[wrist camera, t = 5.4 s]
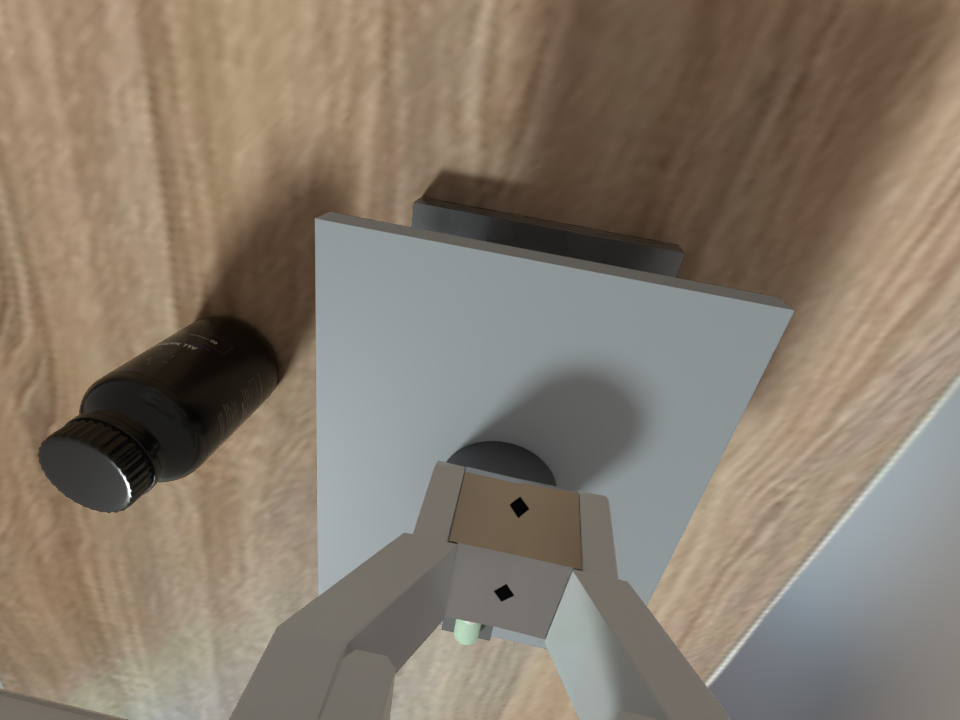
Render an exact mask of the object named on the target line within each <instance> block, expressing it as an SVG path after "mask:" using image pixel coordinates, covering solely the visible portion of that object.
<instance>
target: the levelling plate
mask: <svg viewBox="0 0 960 720" xmlns="http://www.w3.org/2000/svg"><path fill="white" fill-rule="evenodd" d="M315 290H316V401H317V511H318V596H320V595H321V594H322V593H324V592H325V591H326V590H328V589H329V588H330V587H332V586H333V585H334V584H336V583H337V582H338V581H340V580H341V579H342V578H344V577H345V576H346V575H348V574H349V573H350V572H352V571H353V570H354V569H356V568H357V567H358V566H360V565H361V564H362V563H364V562H365V561H366V560H368V559H369V558H370V557H372V556H373V555H374V554H376V553H377V552H378V551H380V550H381V549H382V548H384V547H385V546H386V545H388V544H389V543H390V542H392V541H393V540H394V539H396V538H397V537H399V536H400V535H401V534H403V533H409V534H413V532H414V529H415V526H416V522H417V519H418V516H419V513H420V510H421V507H422V504H423V501H424V498H425V494H426V491H427V488H428V485H429V482H430V479H431V476H432V473H433V470H434V467H435V465H436V463H437V462H438V461H442V462H447V463H451V464H455V465H459V466H463V467H470V468H474V469H479V470H483V471H487V472H491V473H496V474H500V475H504V476H508V477H512V478H517V479H522V480H527V481H532V482H537V483H542V484H547V485H552V486H557V487H562V488H567V489H572V490H575V491H583V492H588V493H593V494H598V495H603V496H606V497H607V499H608V500H609V505H610V513H611V521H612V530H613V538H614V546H615V554H616V562H617V570H618V578H619V580H623V581H627V582H629V584H630V585H631V586H632V588H633V589H634V590H635V592H636V593H637V594H638V596H639V597H640V598H641V600H642V601H643V602H644V604H645V605H646V606H647V605H648V603H649V601H650V599H651V597H652V595H653V593H654V591H655V589H656V587H657V585H658V583H659V581H660V579H661V577H662V575H663V573H664V571H665V569H666V567H667V565H668V563H669V561H670V559H671V557H672V555H673V553H674V551H675V549H676V547H677V545H678V543H679V541H680V539H681V537H682V535H683V533H684V531H685V529H686V527H687V525H688V523H689V521H690V519H691V517H692V515H693V513H694V511H695V509H696V507H697V505H698V503H699V501H700V499H701V497H702V495H703V493H704V491H705V489H706V487H707V485H708V483H709V481H710V479H711V477H712V475H713V473H714V471H715V469H716V467H717V465H718V463H719V461H720V459H721V457H722V455H723V453H724V451H725V449H726V447H727V445H728V443H729V441H730V439H731V437H732V435H733V433H734V431H735V429H736V427H737V425H738V423H739V421H740V419H741V417H742V415H743V413H744V411H745V409H746V407H747V405H748V403H749V401H750V399H751V397H752V395H753V393H754V391H755V389H756V387H757V385H758V383H759V381H760V379H761V377H762V375H763V373H764V371H765V369H766V367H767V365H768V363H769V361H770V359H771V357H772V355H773V353H774V351H775V349H776V347H777V345H778V343H779V341H780V339H781V337H782V335H783V333H784V331H785V329H786V327H787V325H788V323H789V321H790V319H791V317H792V315H793V313H794V311H795V310H794V309H793V308H791V307H790V306H789V305H788V304H787V303H786V302H784V301H783V300H782V299H781V298H780V297H775V296H769V295H764V294H759V293H754V292H748V291H743V290H738V289H732V288H727V287H722V286H717V285H711V284H706V283H701V282H696V281H690V280H685V279H680V278H675V277H669V276H664V275H659V274H654V273H648V272H643V271H638V270H633V269H627V268H622V267H617V266H612V265H606V264H601V263H596V262H591V261H585V260H580V259H575V258H570V257H564V256H559V255H554V254H549V253H543V252H538V251H533V250H528V249H522V248H517V247H512V246H507V245H501V244H496V243H491V242H486V241H480V240H475V239H470V238H465V237H459V236H454V235H449V234H444V233H438V232H433V231H428V230H423V229H417V228H412V227H407V226H402V225H396V224H391V223H386V222H381V221H375V220H370V219H365V218H360V217H354V216H349V215H344V214H339V213H333V212H328V213H326V214H324V215H321V216H319V217H317V218H315ZM465 470H466V469H465ZM440 625H442V630H446V631H450V632H454V636H455V638H456V640H457V641H458V642H459V643H461V644H463V645H471V644H473V643H475V642H476V641H477V639H478V638H480V639H485V640H489V641H490V637H491V636H492V637H496V638H500V639H505V640H509V641H513V642H518V643H522V644H526V645H531V646H535V647H539V648H544V649H547V647H546V644H545V639H541V638H537V637H533V636H529V635H526V634H522V633H518V632H514V631H510V630H506V629H502V628H498V627H494V626H489V625H484V624H479V623H474V622H469V621H464V620H459V619H454V618H449V617H444V619H443V621H442V622H441V623H440Z"/></svg>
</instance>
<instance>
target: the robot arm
mask: <svg viewBox="0 0 960 720" xmlns="http://www.w3.org/2000/svg"><path fill="white" fill-rule="evenodd" d="M465 469H466V470H465ZM444 617H449V618H454V619H459V620H464V621H469V622H474V623H479V624H484V625H489V626H494V627H498V628H502V629H506V630H510V631H514V632H518V633H522V634H526V635H529V636H533V637H537V638H541V639H545V644H546V647H547V649H548V651H549V653H550V655H551V658H552V660H553V662H554V664H555V667H556V669H557V671H558V673H559V676H560V678H561V680H562V682H563V685H564V687H565V689H566V691H567V694H568V696H569V698H570V700H571V702H572V705H573V707H574V709H575V711H576V714H577V716H578V718H579V720H731V718H730V717H729V716H728V714H727V713H726V712H725V710H724V709H723V708H722V706H721V705H720V704H719V702H718V701H717V700H716V699H715V697H714V696H713V695H712V693H711V692H710V690H709V689H708V688H707V686H706V685H705V684H704V682H703V681H702V680H701V678H700V677H699V676H698V674H697V673H696V672H695V670H694V669H693V668H692V666H691V665H690V664H689V662H688V661H687V660H686V658H685V657H684V656H683V654H682V653H681V652H680V650H679V649H678V648H677V646H676V645H675V644H674V642H673V641H672V640H671V638H670V637H669V636H668V634H667V633H666V632H665V630H664V629H663V628H662V626H661V625H660V624H659V622H658V621H657V620H656V618H655V617H654V616H653V614H652V613H651V612H650V610H649V609H648V608H647V606H646V605H645V604H644V602H643V601H642V600H641V598H640V597H639V596H638V594H637V593H636V592H635V590H634V589H633V588H632V586H631V585H630V584H629V582H627V581H623V580H619V578H618V570H617V562H616V554H615V546H614V538H613V530H612V521H611V513H610V505H609V500H608V499H607V497H606V496H603V495H598V494H593V493H588V492H583V491H575V490H572V489H567V488H562V487H557V486H552V485H547V484H542V483H537V482H532V481H527V480H522V479H517V478H512V477H508V476H504V475H500V474H496V473H491V472H487V471H483V470H479V469H474V468H470V467H463V466H459V465H455V464H451V463H447V462H442V461H438V462H437V463H436V465H435V467H434V470H433V473H432V476H431V479H430V482H429V485H428V488H427V491H426V494H425V498H424V501H423V504H422V507H421V510H420V513H419V516H418V519H417V522H416V526H415V529H414V532H413V534H409V533H403V534H401V535H400V536H399V537H397V538H396V539H394V540H393V541H392V542H390V543H389V544H388V545H386V546H385V547H384V548H382V549H381V550H380V551H378V552H377V553H376V554H374V555H373V556H372V557H370V558H369V559H368V560H366V561H365V562H364V563H362V564H361V565H360V566H358V567H357V568H356V569H354V570H353V571H352V572H350V573H349V574H348V575H346V576H345V577H344V578H342V579H341V580H340V581H338V582H337V583H336V584H334V585H333V586H332V587H330V588H329V589H328V590H326V591H325V592H324V593H322V594H321V595H320V596H318V597H317V598H316V599H314V600H313V601H312V602H310V603H309V604H308V605H306V606H305V607H304V608H302V609H301V610H300V611H298V612H297V613H296V614H294V615H293V616H292V617H290V618H289V619H288V620H286V621H285V622H284V623H282V624H281V625H279V626H278V627H277V629H276V630H275V632H274V634H273V636H272V638H271V640H270V642H269V644H268V646H267V648H266V650H265V652H264V654H263V656H262V657H261V659H260V661H259V663H258V665H257V667H256V669H255V671H254V673H253V675H252V677H251V679H250V681H249V682H248V684H247V686H246V688H245V690H244V692H243V694H242V696H241V698H240V700H239V702H238V704H237V706H236V708H235V709H234V711H233V713H232V715H231V717H230V719H229V720H390V712H391V704H392V695H393V686H394V678H395V674H396V673H397V672H398V670H399V669H400V668H401V667H402V666H403V665H404V664H405V663H406V661H407V660H408V659H409V658H410V657H411V656H412V655H413V654H414V652H415V651H416V650H417V649H418V648H419V647H420V646H421V645H422V643H423V642H424V641H425V640H426V639H427V638H428V637H429V636H430V634H431V633H432V632H433V631H434V630H435V629H436V628H437V627H438V625H439V624H440V623H441V622H442V621H443V619H444ZM0 720H128V719H124V718H119V717H115V716H111V715H107V714H103V713H99V712H95V711H91V710H86V709H82V708H78V707H74V706H70V705H66V704H62V703H58V702H54V701H49V700H45V699H41V698H37V697H33V696H29V695H25V694H21V693H17V692H12V691H8V690H4V689H0Z"/></svg>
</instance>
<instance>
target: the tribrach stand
mask: <svg viewBox="0 0 960 720" xmlns="http://www.w3.org/2000/svg"><path fill="white" fill-rule="evenodd" d="M412 228H417V229H423V230H428V231H433V232H438V233H444V234H449V235H454V236H459V237H465V238H470V239H475V240H480V241H486V242H491V243H496V244H501V245H507V246H512V247H517V248H522V249H528V250H533V251H538V252H543V253H549V254H554V255H559V256H564V257H570V258H575V259H580V260H585V261H591V262H596V263H601V264H606V265H612V266H617V267H622V268H627V269H633V270H638V271H643V272H648V273H654V274H659V275H664V276H669V277H675V278H676V277H677V274H678V271H679V269H680V266H681V263H682V260H683V258H684V255H685V253H684V251H683V250H682V249H681V248H680V247H679V245H675V244H670V243H665V242H659V241H654V240H649V239H643V238H638V237H633V236H627V235H622V234H616V233H611V232H606V231H600V230H595V229H590V228H584V227H579V226H574V225H568V224H563V223H558V222H552V221H547V220H542V219H536V218H531V217H526V216H520V215H515V214H510V213H504V212H499V211H493V210H488V209H483V208H477V207H472V206H467V205H461V204H456V203H451V202H445V201H440V200H435V199H429V198H424V197H421V198H419V199H418V200H416V201H415V202H414V205H413V217H412Z"/></svg>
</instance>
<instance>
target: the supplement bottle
mask: <svg viewBox="0 0 960 720" xmlns="http://www.w3.org/2000/svg"><path fill="white" fill-rule="evenodd" d="M277 380H278V367H277V362H276V359H275V356H274V354H273V352H272V350H271V348H270V347H269V345H268V344H267V343H266V341H265V340H264V339H263V338H262V337H261V336H260V335H259V334H258V333H257V332H256V331H254V330H253V329H252V328H250V327H249V326H247V325H245V324H243V323H241V322H239V321H237V320H234V319H231V318H226V317H218V316H217V317H207V318H203V319H200V320H198V321H196V322H194V323H192V324H190V325H189V326H187V327H185V328H183V329H182V330H180V331H178V332H177V333H175V334H173V335H172V336H170V337H168V338H167V339H165V340H163V341H162V342H160V343H158V344H157V345H155V346H153V347H152V348H150V349H148V350H147V351H145V352H143V353H142V354H140V355H138V356H137V357H135V358H133V359H132V360H130V361H128V362H127V363H125V364H123V365H122V366H120V367H118V368H117V369H115V370H113V371H112V372H110V373H108V374H107V375H105V376H104V377H102V378H101V379H99V380H98V381H96V382H95V383H94V384H92V385H91V386H90V387H89V389H88V390H87V391H86V393H85V395H84V397H83V399H82V401H81V405H80V410H79V415H78V416H77V417H75V418H74V419H72V420H70V421H69V422H68V423H67V424H66V425H65V426H64V427H62V428H61V429H59V430H58V431H56V432H55V433H53V434H51V435H50V436H49V437H48V438H47V439H46V440H44V441H43V442H42V443H41V447H40V448H39V454H38V456H39V462H40V464H41V468H42V470H43V471H44V472H45V475H46V477H47V478H48V479H49V480H50V481H51V483H52V484H53V485H54V486H56V488H57V489H58V490H59V491H60V492H62V493H63V494H64V495H65V496H66V497H68V498H70V499H72V500H73V501H74V502H76V503H79V504H80V505H82V506H84V507H88V508H90V509H92V510H97V511H100V512H107V513H111V512H116V513H117V512H118V511H123V510H125V509H126V508H127V507H129V506H131V505H132V504H133V503H134V502H135V501H136V500H137V499H138V498H140V497H141V496H142V495H143V494H145V493H147V492H148V491H150V490H151V489H152V488H153V487H154V486H155V485H156V484H157V482H169V481H174V480H178V479H181V478H183V477H186V476H188V475H189V474H191V473H192V472H194V471H195V470H196V469H197V468H198V467H200V466H201V465H202V464H203V463H204V462H205V461H206V460H207V459H208V458H209V457H210V456H211V455H212V454H213V453H214V452H215V451H216V450H217V449H218V448H219V447H220V446H221V445H222V444H223V443H224V442H225V441H226V440H227V439H228V438H229V437H230V436H231V435H232V434H233V433H234V432H235V431H236V430H237V429H238V428H239V427H240V426H241V425H242V424H243V423H244V422H245V421H246V420H247V419H248V418H249V417H250V416H251V415H252V414H253V413H254V412H255V411H256V410H257V409H258V408H259V407H260V406H261V405H262V403H263V402H264V401H265V400H266V399H267V398H268V397H269V396H270V395H271V393H272V392H273V391H274V389H275V386H276V384H277Z"/></svg>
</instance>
